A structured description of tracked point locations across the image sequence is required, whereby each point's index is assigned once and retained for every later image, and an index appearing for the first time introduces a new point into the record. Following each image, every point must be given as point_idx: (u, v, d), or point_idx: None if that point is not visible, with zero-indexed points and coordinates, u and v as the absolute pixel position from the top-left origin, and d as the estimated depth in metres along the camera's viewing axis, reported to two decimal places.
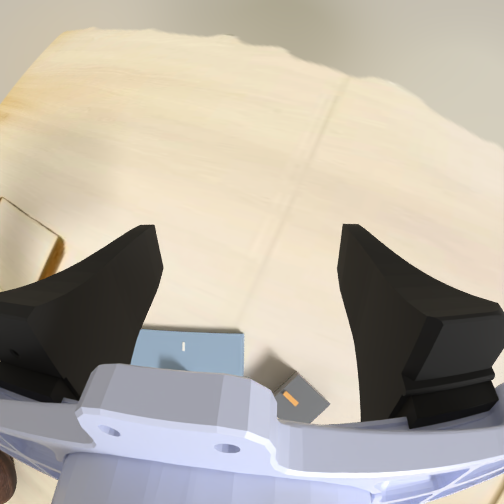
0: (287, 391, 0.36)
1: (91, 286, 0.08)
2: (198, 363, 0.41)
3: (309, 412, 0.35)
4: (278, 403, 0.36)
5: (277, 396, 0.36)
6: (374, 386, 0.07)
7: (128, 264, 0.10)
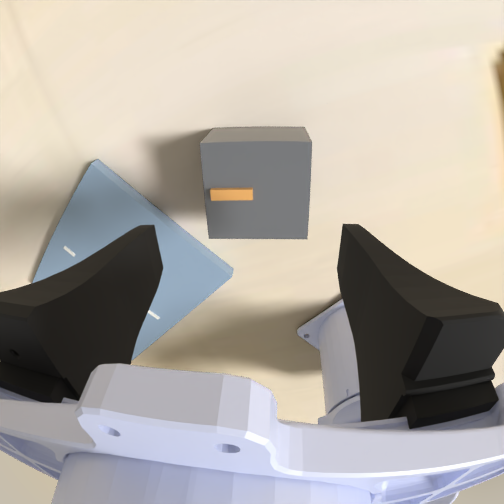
0: (214, 187, 0.17)
1: (91, 286, 0.08)
2: None
3: (289, 187, 0.17)
4: (223, 218, 0.18)
5: (209, 209, 0.18)
6: (374, 387, 0.07)
7: (128, 264, 0.10)
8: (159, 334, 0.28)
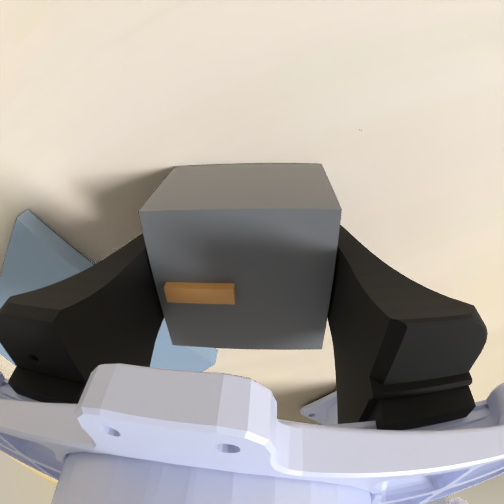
0: (170, 282, 0.10)
1: (114, 287, 0.08)
2: None
3: (296, 283, 0.10)
4: (190, 322, 0.11)
5: (167, 310, 0.11)
6: (348, 389, 0.08)
7: (148, 264, 0.10)
8: None
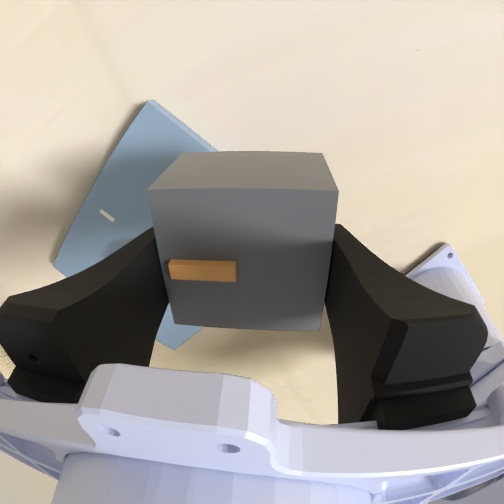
0: (174, 259, 0.10)
1: (113, 287, 0.08)
2: (147, 213, 0.20)
3: (295, 263, 0.10)
4: (192, 300, 0.12)
5: (170, 287, 0.11)
6: (349, 388, 0.08)
7: (147, 264, 0.10)
8: None
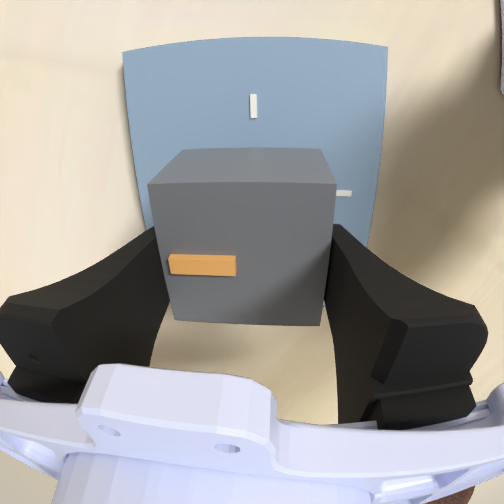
0: (174, 254, 0.11)
1: (113, 287, 0.08)
2: None
3: (294, 256, 0.10)
4: (192, 295, 0.12)
5: (170, 283, 0.11)
6: (349, 389, 0.08)
7: (147, 264, 0.10)
8: (367, 224, 0.17)
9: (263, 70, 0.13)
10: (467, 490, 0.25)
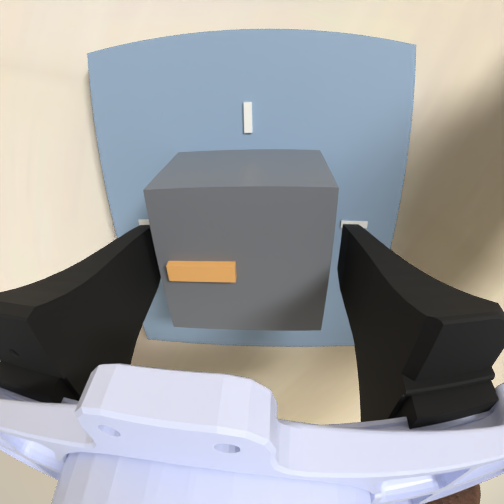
0: (173, 260, 0.10)
1: (91, 286, 0.08)
2: None
3: (296, 261, 0.10)
4: (191, 302, 0.11)
5: (169, 290, 0.11)
6: (375, 387, 0.07)
7: (128, 264, 0.10)
8: None
9: (259, 72, 0.10)
10: None
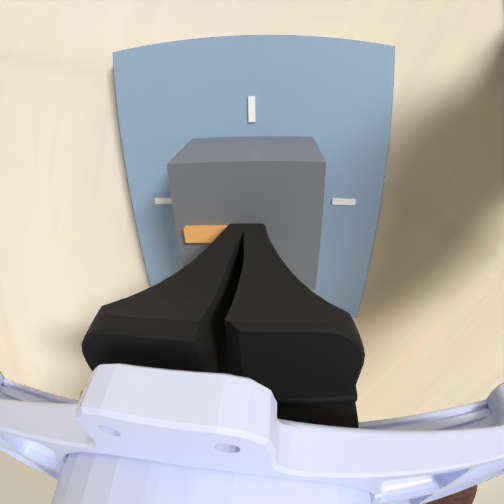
0: (189, 225, 0.12)
1: (221, 291, 0.07)
2: None
3: (292, 225, 0.12)
4: None
5: (184, 252, 0.13)
6: None
7: (235, 265, 0.10)
8: (371, 233, 0.17)
9: (261, 71, 0.12)
10: (468, 497, 0.24)
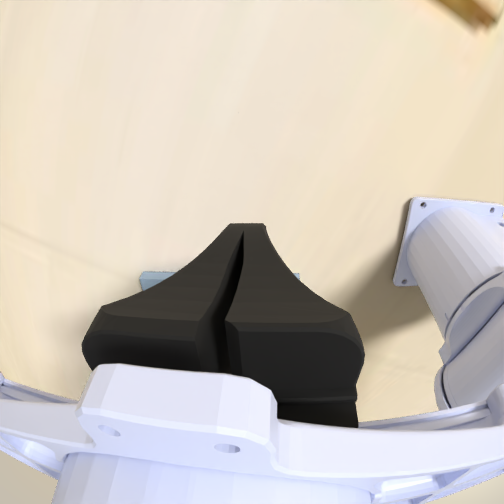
0: None
1: (221, 291, 0.07)
2: None
3: None
4: None
5: None
6: None
7: (235, 265, 0.10)
8: None
9: None
10: None
